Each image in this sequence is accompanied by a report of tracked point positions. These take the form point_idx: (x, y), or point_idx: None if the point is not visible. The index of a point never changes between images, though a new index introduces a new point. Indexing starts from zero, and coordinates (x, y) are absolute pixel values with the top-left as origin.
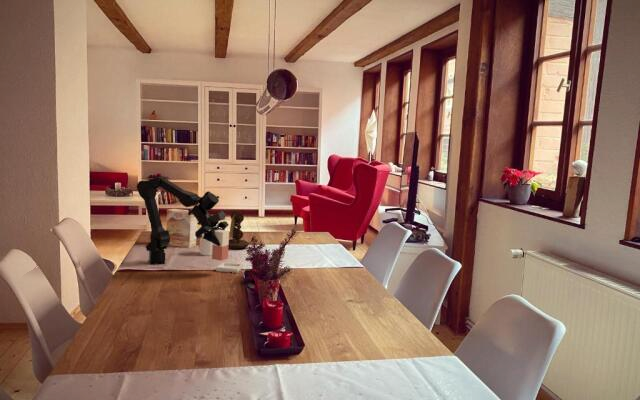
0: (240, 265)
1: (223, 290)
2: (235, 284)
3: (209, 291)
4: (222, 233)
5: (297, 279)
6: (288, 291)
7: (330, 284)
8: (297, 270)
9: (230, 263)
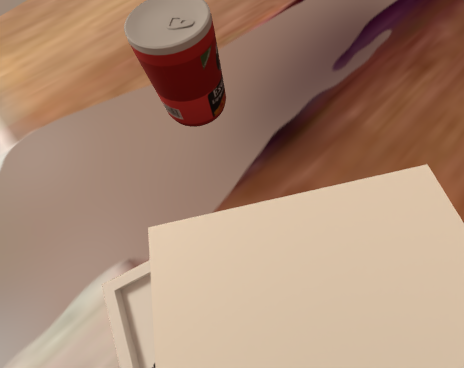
0: (134, 275)
1: (402, 117)
2: (321, 138)
3: (456, 137)
4: (416, 182)
5: (138, 68)
6: (249, 22)
7: (130, 9)
8: (44, 122)
9: (129, 351)
